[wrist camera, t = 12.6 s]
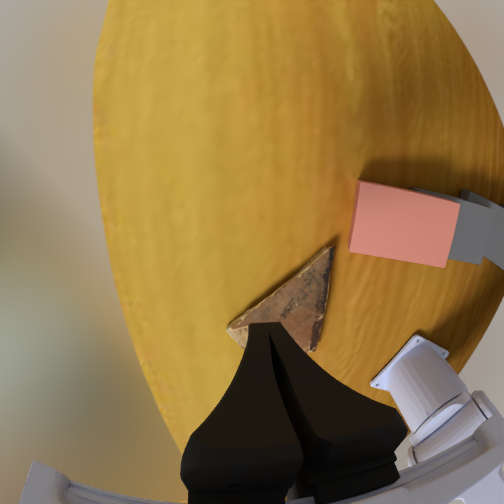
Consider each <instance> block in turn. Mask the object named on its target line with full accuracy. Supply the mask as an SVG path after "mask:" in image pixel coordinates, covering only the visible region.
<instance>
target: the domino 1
mask: <svg viewBox="0 0 504 504" xmlns="http://www.w3.org/2000/svg"><path fill="white" fill-rule="evenodd" d="M411 190H413V191H417V192H421V193H426V194H430V195H434V196H438V197H442V198H446V199H449V200H452V201H454V202H457V203H459V204H460V208H459V213H458V218H457V223H456V227H455V231H454V236H453V240H452V244H451V247H450V251H449V255H448V258H447V259H452V260H458V261H463V262H469V263H474V264H479V265H481V262H482V259H483V255H484V252H485V248H486V244H487V240H488V236H489V232H490V228H491V223H492V219H493V214H494V209H492V208H490V207H488V206H485V205H482V204H479V203H475V202H472V201H468V200H465V199H461V198H458V197H454V196H450V195H446V194H442V193H438V192H434V191H430V190H425V189H421V188H416V187H411Z"/></svg>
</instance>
